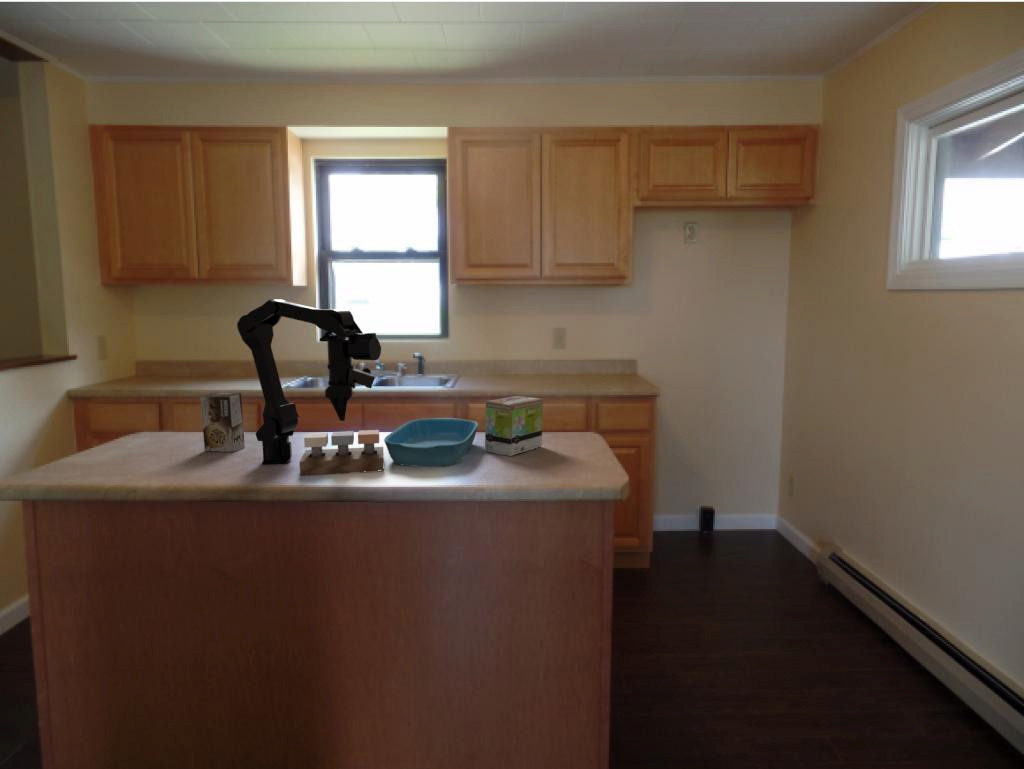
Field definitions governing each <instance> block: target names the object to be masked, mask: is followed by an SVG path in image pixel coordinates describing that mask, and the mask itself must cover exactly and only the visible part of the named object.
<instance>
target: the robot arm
mask: <svg viewBox="0 0 1024 769" xmlns="http://www.w3.org/2000/svg"><path fill="white" fill-rule="evenodd" d="M283 317H284V318H287V319H292V320H296V321H299V322H300V321H301V322H305V323H309V324H313V325H315V326H316V327H318V329H321V330H323V331H325V333H323V335H322V336H321V337H320V338H318V339H319V342H322V343H323V342H324V343H325V342H327V362H328V363H327V370H328V381H327V382H328V384H327V385H328V386H327V387H326V388H325V389H324V393H325V394H324V397H325V398H326V399H329V400H330V403H331V405H332V408H333V409H334V411H335V412H336V414H337V417H338V420H339V421H341V422H342V421H343V422H344V421H345V420H346V414H347V408H348V402H349V400H350V399H351V398H352V397H353V396H354V393H355V391H353V389H356V384H358V385H361V386H363V387H365V388H367V389H372V388H373V385H374V381H375V379H376V374H374V373H372V370H371V368H368V367H364V368H362V370H361V369H358V368H354V367H355V366H354V363H353V362H352V360H355V361H377V360H379V359H380V357H381V353H382V345H381V343H380V340H379V339H378V338H377V333H376V332H367V333H363V331H362V330H361V328H360V327H359V325H358V324H357V323H356V321H355V319H354V316H353V314H352V312H351V311H350V310H348V309H343V308H340V309H338V308H337V309H335V308H332V309H331V308H329V309H328V308H327V309H326V308H325V309H324V308H317V307H313V306H309V305H304V304H300V303H295V302H290V301H286V300H284V299H273V298H272V299H269V300H267V301H266V302H264V303H263V304H262V305H260V306H259V307H257V308H255V309H253V310H251V311H249V312H248V313H246V314H244V315H242V316H241V317H240V318H239V320H238V321H237V324H236V325H237V326H236V327H237V330H238V334H239V335H240V337H241V340H242V342H243V343H244V344H245V345H246V346H247V347H248V348H249V349H250V351H251V354H252V359H253V362H254V366H255V369H256V370H255V371H256V373H257V376H258V380H259V384H260V387H261V391H262V395H263V399H264V409H263V411H262V422H263V424H262V425H261V426H260V427H259V429H258V430H257V431H256V432H255V437H256V440H257V442H261V443H262V461H261V464H262V465H269V464H287V463H289V461H290V460H291V459H292V457H293V453H292V452H293V451H292V449H293V448H292V442H291V441H290V437H292V436H294V433H295V429H296V428H297V425H299V419H298V418H300V416H299V414H298V412H297V411H298V410H297V406H296V403H295V402H291V403H290V402H289V401H288V400H287V399H286V398H285V395H284V391H283V387H282V382H281V380H280V374H279V372H278V368H277V365H276V361H275V356H274V353H273V349H272V342H273V340H274V339H273V338H274V327H276V325H278V323H279V322H280V321H281V318H283Z"/></svg>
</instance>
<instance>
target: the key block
mask: <svg viewBox="0 0 1024 769" xmlns="http://www.w3.org/2000/svg"><path fill="white" fill-rule="evenodd" d="M348 450H349V455H348V456H338V448H330V449H329V448H327V449H326V448H325V449H323V448H322V457H312V451H311V449H306V450H305V451H304V453H303V454H302V456H301V459H300V460H299V476H321V475H337V474H336V473H341V474H350V473H349V472H360V473H365V472H364V471H378V470H383V471H384V469H383V463H384V446H374V452H375V454H369V455H364V447H350V448H349V447H348ZM378 472H379V471H378Z"/></svg>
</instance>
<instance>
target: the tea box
mask: <svg viewBox="0 0 1024 769" xmlns="http://www.w3.org/2000/svg"><path fill="white" fill-rule="evenodd" d="M543 410H544V399H543V398H538V397H529V396H523V395H515V396H509V397H503V398H497V399H492V400H491V399H490V400H486V401H485V428H484V429H485V430H484V433H485V434H484V435H485V436H484V438H485V439H484V450H485V452H488V453H492V454H497V455H502V456H506V455H507V456H508V457H512V456H515V455H518V454H520V453H524V452H528V451H532V450H535V448H536V449H539V448H538V447H540V448H542V447H541V446H543V445H542V444H543V421H544V420H543V416H544V415H543V412H544V411H543ZM507 456H506V457H507Z"/></svg>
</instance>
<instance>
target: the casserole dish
mask: <svg viewBox="0 0 1024 769" xmlns="http://www.w3.org/2000/svg"><path fill="white" fill-rule="evenodd" d="M478 427H479V423H478V422H477V421H475V420H471V419H470V420H469V419H462V418H456V417H455V418H454V417H435V418H434V417H431V418H419V419H413V420H409V421H407V422H405V423H404V424H402V425H401V426H399V427H397V428H396V429H395V430H393V431H392V432H391V433H389V434H388V435H386V437H385V438H384V439H383V441H384V443H385V446H386V449H387V452H388V454H389V456H390V458H391V460H392V461H393V462H394V463H395V464H397V463H398V464H397V465H399V464H403V465H402V466H407V465H422V466H421V467H447V466H448V465H449V466H451V465H454V464H457V463H458V462H459V461H460V460H462V459H463V457H464V456H465V455H466V454H467V452H468V450H469V449H470V447H471V446H472V445H473V443H474V440H475V438H476V434H477V432H478V431H477V430H478Z"/></svg>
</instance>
